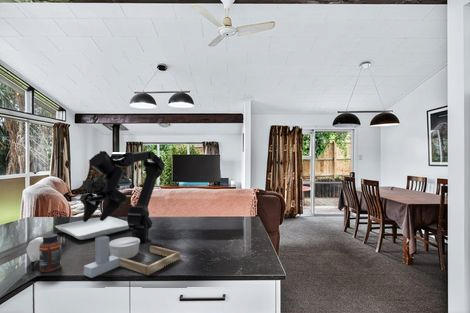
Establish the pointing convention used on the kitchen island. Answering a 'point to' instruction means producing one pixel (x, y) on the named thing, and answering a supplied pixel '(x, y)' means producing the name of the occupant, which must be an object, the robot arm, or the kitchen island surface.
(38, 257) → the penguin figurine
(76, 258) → the kitchen island surface
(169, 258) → the oak corral
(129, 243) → the ramekin
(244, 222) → the kitchen island surface
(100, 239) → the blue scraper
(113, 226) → the square plate
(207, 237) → the kitchen island surface
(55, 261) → the supplement bottle
